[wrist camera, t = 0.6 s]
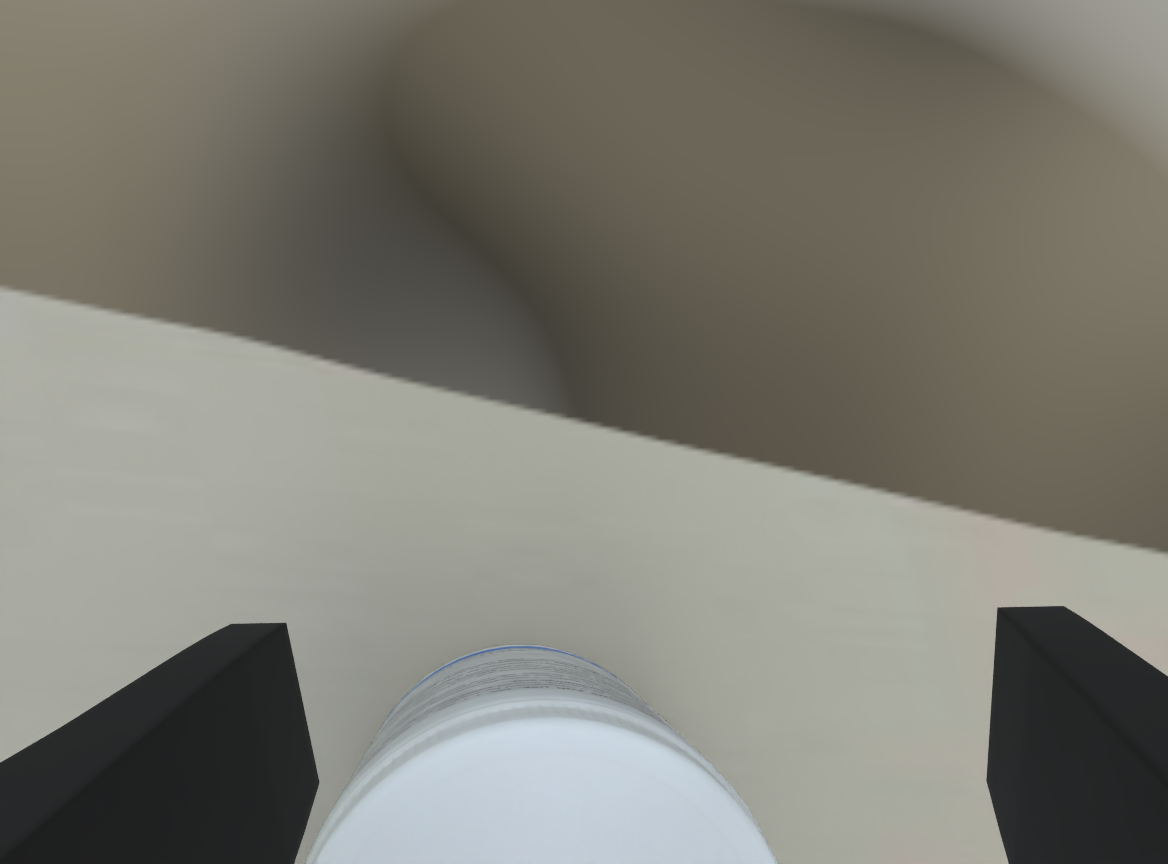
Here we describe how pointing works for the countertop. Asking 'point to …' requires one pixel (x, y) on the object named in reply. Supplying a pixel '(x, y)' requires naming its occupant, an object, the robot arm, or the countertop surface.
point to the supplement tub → (534, 775)
